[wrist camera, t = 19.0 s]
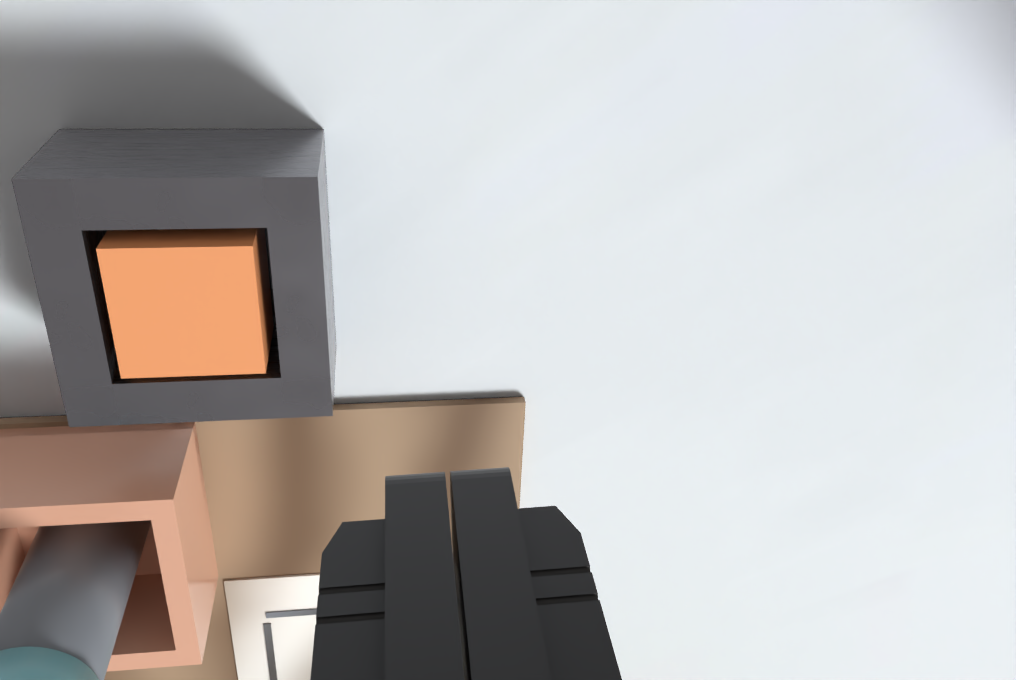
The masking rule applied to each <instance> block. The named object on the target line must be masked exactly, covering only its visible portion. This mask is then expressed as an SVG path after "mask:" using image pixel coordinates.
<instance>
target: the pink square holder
mask: <svg viewBox="0 0 1016 680" xmlns="http://www.w3.org/2000/svg"><path fill="white" fill-rule="evenodd" d="M144 520H151V522H150V527H149V531H148V534H147V537H146V541H145V544H144V547H143V551H142V554H141V558H140V561H139V564H138V568H137V571H136V574H135V578H134V581H133V584H132V588H131V591H130V594H129V598H128V601H127V605H126V608H125V611H124V615H123V618H122V621H121V625H120V628H119V631H118V635H117V638H116V641H115V645H114V648H113V652H112V655H111V658H110V662H109V665H108V668H107V672H108V671H121V670H134V669H147V668H160V667H173V666H186V665H199V664H202V661H203V656H204V650H205V645H206V640H207V634H208V629H209V624H210V618H211V613H212V608H213V603H214V597H215V592H216V587H217V581H218V570H217V563H216V557H215V550H214V544H213V537H212V530H211V524H210V517H209V510H208V504H207V497H206V491H205V484H204V477H203V471H202V464H201V457H200V451H199V444H198V437H197V431H196V424H195V422H181V423H157V424H134V425H110V426H86V427H69V426H59V427H35V428H11V429H0V612H1V610H2V608H3V606H4V604H5V601H6V599H7V597H8V595H9V593H10V590H11V588H12V586H13V584H14V582H15V579H16V577H17V575H18V573H19V570H20V568H21V566H22V564H23V562H24V559H25V557H26V555H27V553H28V551H29V548H30V546H31V544H32V542H33V540H34V537H35V535H36V533H37V531H38V528H39V526H55V525H73V524H91V523H109V522H126V521H144Z"/></svg>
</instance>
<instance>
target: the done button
mask: <svg viewBox="0 0 1016 680" xmlns="http://www.w3.org/2000/svg"><path fill="white" fill-rule="evenodd" d="M96 252H97V257H98V262H99V267H100V272H101V277H102V283H103V288H104V293H105V298H106V303H107V309H108V314H109V319H110V324H111V329H112V335H113V340H114V345H115V350H116V355H117V360H118V366H119V371H120V376H121V379H124V378H152V377H180V376H208V375H236V374H264V373H266V369H267V363H268V358H269V352H270V346H271V340H272V334H273V329H274V322H273V312H272V301H271V291H270V280H269V270H268V259H267V249H266V238H265V228H220V229H151V230H107V232H106V233H105V235H104V237H103V238H102V240H101V241H100V243H99V245H98V246H97V248H96Z"/></svg>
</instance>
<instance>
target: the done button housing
mask: <svg viewBox="0 0 1016 680" xmlns="http://www.w3.org/2000/svg"><path fill="white" fill-rule="evenodd" d="M12 183H13V187H14V191H15V196H16V200H17V204H18V209H19V213H20V217H21V222H22V226H23V230H24V235H25V239H26V243H27V248H28V252H29V256H30V260H31V265H32V269H33V273H34V278H35V282H36V286H37V291H38V295H39V299H40V304H41V308H42V312H43V317H44V321H45V325H46V329H47V334H48V338H49V342H50V347H51V351H52V355H53V360H54V364H55V368H56V373H57V377H58V381H59V386H60V390H61V394H62V398H63V403H64V407H65V411H66V416H67V420H68V424H69V427H86V426H110V425H134V424H157V423H181V422H204V421H228V420H252V419H275V418H299V417H323V416H333V403H334V383H335V362H336V333H335V316H334V299H333V282H332V264H331V247H330V230H329V213H328V196H327V178H326V161H325V144H324V129H59V130H58V131H57V132H56V133H55V134H54V135H53V136H52V137H51V138H50V140H49V141H48V142H47V143H46V144H45V145H44V146H43V147H42V148H41V149H40V150H39V151H38V152H37V153H36V154H35V155H34V156H33V157H32V158H31V159H30V160H29V161H28V162H27V163H26V165H25V166H24V167H23V168H22V169H21V170H20V171H19V172H18V173H17V174H16V175H15V176H14V177H13V178H12ZM220 228H265V238H266V249H267V259H268V270H269V280H270V291H271V301H272V312H273V322H274V329H273V334H272V340H271V346H270V352H269V358H268V363H267V369H266V373H264V374H236V375H208V376H180V377H152V378H124V379H121V376H120V371H119V366H118V360H117V355H116V350H115V345H114V340H113V335H112V329H111V324H110V319H109V314H108V309H107V303H106V298H105V293H104V288H103V283H102V277H101V272H100V267H99V262H98V257H97V252H96V248H97V246H98V245H99V243H100V241H101V240H102V238H103V237H104V235H105V233H106V232H107V230H151V229H220Z"/></svg>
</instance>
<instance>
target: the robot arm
mask: <svg viewBox="0 0 1016 680" xmlns="http://www.w3.org/2000/svg"><path fill="white" fill-rule="evenodd" d="M450 499H451V525H452V541H451V530H450V520H449V509H448V498H447V488H446V477H445V472H436V473H421V474H407V475H393V476H385V519H376V520H363V521H349V522H342V524H341V525H340V527H339V528H338V530H337V531H336V533H335V534H334V536H333V537H332V539H331V540H330V542H329V543H328V545H327V546H326V548H325V549H324V551H323V552H322V556H321V567H320V578H319V595H318V601H317V612H316V625H315V634H314V645H313V656H312V667H311V678H310V680H622V679H621V675H620V672H619V668H618V664H617V661H616V657H615V654H614V650H613V647H612V643H611V639H610V636H609V632H608V629H607V625H606V622H605V618H604V615H603V611H602V607H601V604H600V600H598V593H597V590H596V586H595V583H594V579H593V575H592V572H591V573H590V565H589V561H588V558H587V554H586V550H585V547H584V543H583V540H582V536H581V533H580V532H579V531H578V530H577V529H576V527H575V526H574V525H573V524H572V523H571V522H570V521H569V520H568V519H567V518H566V517H565V516H564V515H563V513H562V512H561V511H560V510H559V509H558V508H557V507H556V506H547V507H534V508H520V509H518V507H517V502H516V497H515V492H514V486H513V481H512V476H511V472H510V469H509V467H504V468H490V469H475V470H461V471H450ZM452 551H453V552H452Z"/></svg>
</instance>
